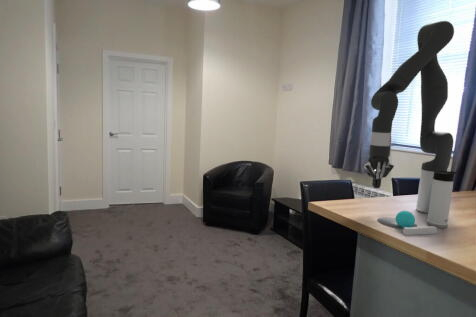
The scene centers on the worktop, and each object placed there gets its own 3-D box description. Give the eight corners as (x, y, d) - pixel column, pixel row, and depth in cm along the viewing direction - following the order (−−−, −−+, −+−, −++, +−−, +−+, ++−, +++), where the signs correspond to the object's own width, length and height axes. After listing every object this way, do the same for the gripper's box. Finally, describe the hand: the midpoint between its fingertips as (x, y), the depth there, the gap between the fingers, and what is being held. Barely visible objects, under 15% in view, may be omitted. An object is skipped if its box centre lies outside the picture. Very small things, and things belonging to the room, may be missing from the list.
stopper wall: (432, 231, 114) (433, 226, 114) (436, 233, 113) (437, 227, 112) (403, 233, 111) (403, 227, 110) (406, 234, 109) (407, 228, 109)
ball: (403, 221, 121) (407, 206, 119) (417, 230, 115) (421, 214, 113) (390, 223, 119) (393, 208, 117) (403, 232, 114) (406, 217, 112)
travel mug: (451, 229, 118) (459, 173, 115) (430, 227, 119) (438, 171, 117) (444, 224, 124) (451, 170, 122) (424, 222, 125) (431, 168, 123)
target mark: (398, 217, 130) (399, 216, 130) (426, 228, 117) (426, 228, 117) (369, 218, 126) (370, 217, 126) (394, 229, 114) (394, 229, 114)
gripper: (371, 145, 126) (367, 190, 128) (401, 145, 129) (397, 189, 131) (359, 143, 133) (355, 186, 135) (388, 143, 136) (384, 185, 139)
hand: (376, 187), depth 133 cm, fingers closed
